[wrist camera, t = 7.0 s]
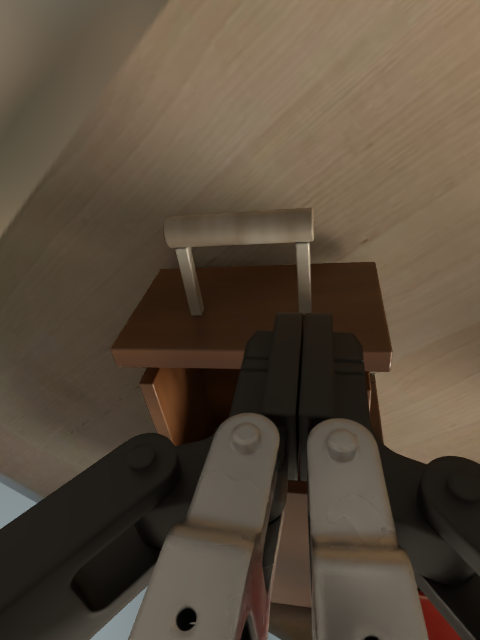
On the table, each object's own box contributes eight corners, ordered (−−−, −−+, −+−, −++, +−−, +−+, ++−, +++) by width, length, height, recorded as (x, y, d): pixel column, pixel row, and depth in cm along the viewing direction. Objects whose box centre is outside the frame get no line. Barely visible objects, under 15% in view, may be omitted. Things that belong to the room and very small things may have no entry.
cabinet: (186, 370, 32) (143, 481, 25) (374, 374, 29) (391, 501, 22) (217, 485, 41) (193, 591, 34) (364, 496, 38) (374, 616, 31)
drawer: (137, 186, 23) (69, 251, 17) (381, 166, 20) (406, 235, 14) (202, 421, 34) (175, 511, 28) (363, 429, 32) (373, 530, 26)
